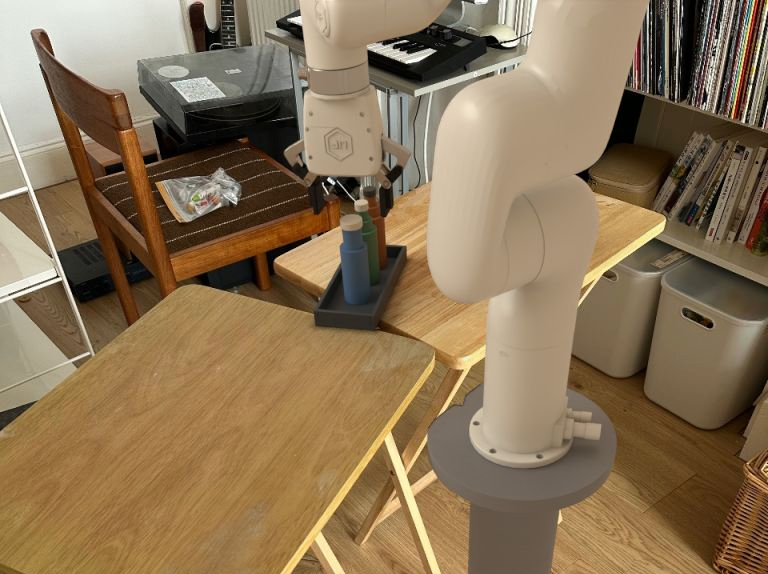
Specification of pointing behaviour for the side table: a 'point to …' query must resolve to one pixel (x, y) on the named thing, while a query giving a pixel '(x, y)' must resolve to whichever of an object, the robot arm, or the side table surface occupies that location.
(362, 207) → the green bottle
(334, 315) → the tray
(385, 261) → the amber bottle
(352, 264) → the blue bottle
